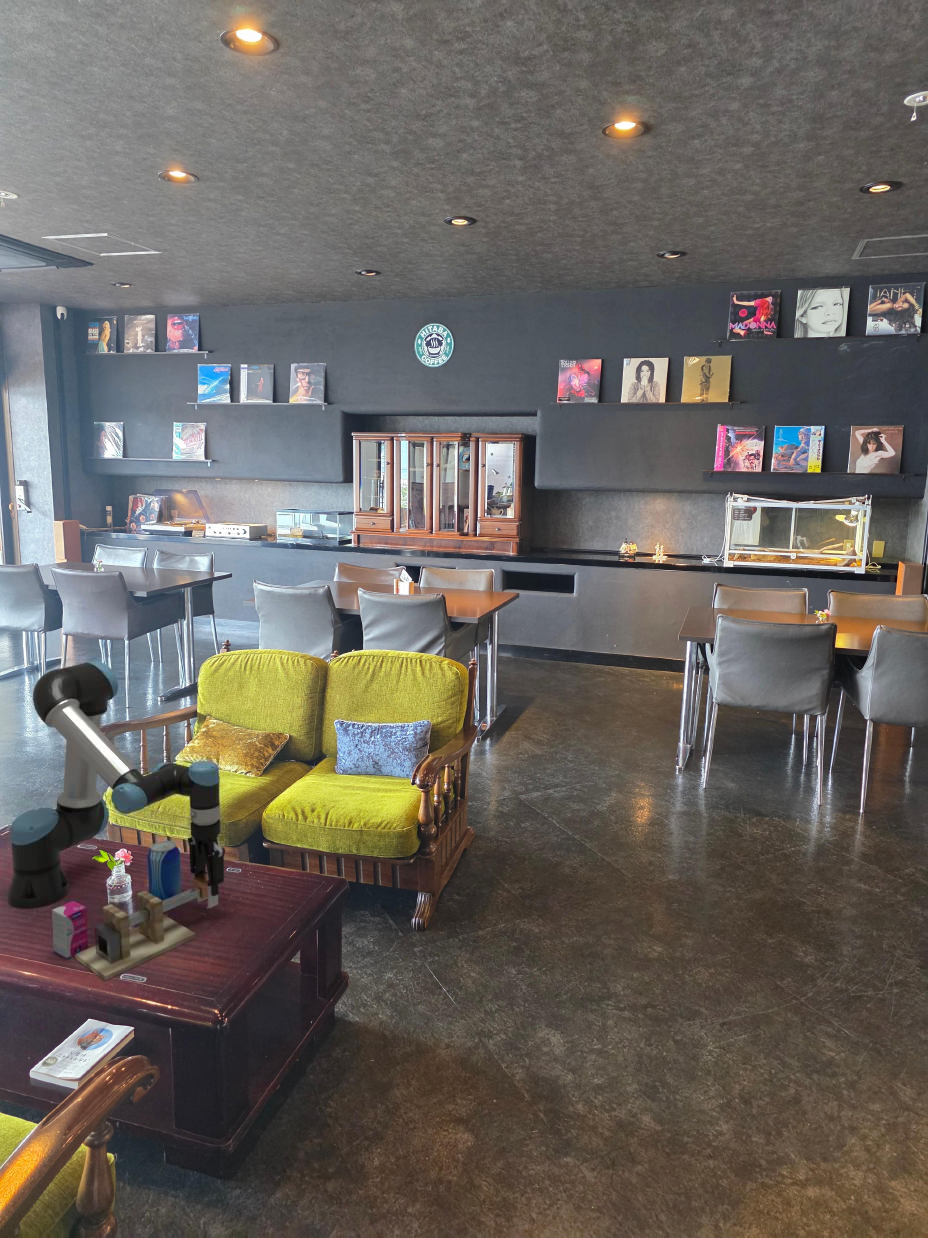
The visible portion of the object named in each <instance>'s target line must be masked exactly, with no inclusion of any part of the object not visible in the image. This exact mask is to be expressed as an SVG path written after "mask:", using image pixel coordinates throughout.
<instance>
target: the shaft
mask: <svg viewBox="0 0 928 1238" xmlns="http://www.w3.org/2000/svg"><path fill="white" fill-rule="evenodd" d="M208 883H209V878H208V875H207V874H205V875H204V874H203V875H201V876H198V877H194V878H193V887H191V888H190V889H187V890H185V891H181V893H180V894H177V895H175V896H173V897H170V898H168V899H166V900H163V913H165V912H167V911H170V910H172V909H175V908H176V907H179V906H181V905H184V904H186V903H188V902H190V901H193V900H195V899H197V897H200V898H202V899H204V898H207V897H208V895H207V884H208ZM128 915H129V928H131V927H133V926H135V925H139V923H140V922H142V921H145V920H147V919H149V918H150V910H149V909H147V908H144V909H142V910H140V911H138V910H137V911H135V912H133V913H130V914H128Z"/></svg>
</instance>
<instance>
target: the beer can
mask: <svg viewBox="0 0 928 1238" xmlns="http://www.w3.org/2000/svg"><path fill="white" fill-rule="evenodd" d="M181 869H182V868H181V850H180V849H179V848H178V846H177V842H175V841H172V840H162V841H157V842H155V843H153V844H152V845H151V846H150V849H149V852H148V853H147V875H148V876H147V879H148V893H150V894H152V895H153V896H155V897H157V898H159V899H160V900H162V901H163V900H166V899H168V898H170V897H173V896H175V895H177V894H180V893H182V875H181V874H182V873H181Z"/></svg>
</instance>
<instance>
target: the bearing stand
mask: <svg viewBox="0 0 928 1238" xmlns="http://www.w3.org/2000/svg"><path fill="white" fill-rule="evenodd" d="M144 908H147V909H149V910H150V918H149V919H147V920H145V921H142V922H140V923H138V926H136V927H134V928H132V929H130V927H129V915H130V914H127V913H126V912H125V911H124V910H121V909H120V908H118V907H117V906H115V905H114V904H111V903H110V904H108V905H105V906H103V923H105V924H107V925H108V926H110V927H111V928H113V929H115V930H116V931H118V932H119V934H120V955H121V960H119V961H117V962H115V963H112V964H110V963H109V962H108V961H106V960H105V959H103V958H102V957H100V956H99V955H98V954H96V944H95V945H93V946H91V947H88V949H86V950H84V951H81V952H79V953H77V954H75V956H74V957H75V960H76V961H78V962H80V963H81V964H82V965H83V966H85V967H86V968H88V969H89V970H90V971H91V972H93V973H94V974H96V975H97V976H98V977H100V978H101V979H103V980H104V981H105V982H106V981H108V980H111V979H112V978H114V977H117V976H119V975H120V974H123V973H125V972H127V971H129V970H131V969H133V968H136V967H137V966H140V965H142V964H144V963H146V962H148V961H149V960H150V961H151V960H152V959H154V958H156V957H158V956H160V955H162V954H165V953H166V952H169V951H171V950H173V949H175V948H177V947H180V946H182V945H184V944H186V943H187V942H189V941H192V940H194V939H196V932H194V931H192V930H190V929H189V928H187V927H185V926H184V925H182V924H180V923H178V922H177V921H175V920H174V919H171V918H170V917H168V916H166V915H165V914H164V912H163V901H162V900H160V899H159V898H157V897H155V896H153V895H152V894H150V893H149V891H147V890H143V891H140V892H137V911H140V910H142V909H144Z"/></svg>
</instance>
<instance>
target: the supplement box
mask: <svg viewBox="0 0 928 1238" xmlns="http://www.w3.org/2000/svg"><path fill="white" fill-rule="evenodd" d="M87 908H88V907H86V906H85V905H82V904H80V903H78V902H76V901H75V900H72V901H70V902H68V903H65V904H61V905H60V906H59V907H56V908H54V909H52V910H51V914H52V915H51V917H52V919H51V920H52V921H51V922H52V943H53V953H54V955H58V956H59V957H61V958H63V959H65V960H69V959H70V958H73V957H75V954H77V953H79V952H81V951H84V950H86V949H88V948H89V940H88V938H89V937H88V913H87V912H88V911H87Z"/></svg>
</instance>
